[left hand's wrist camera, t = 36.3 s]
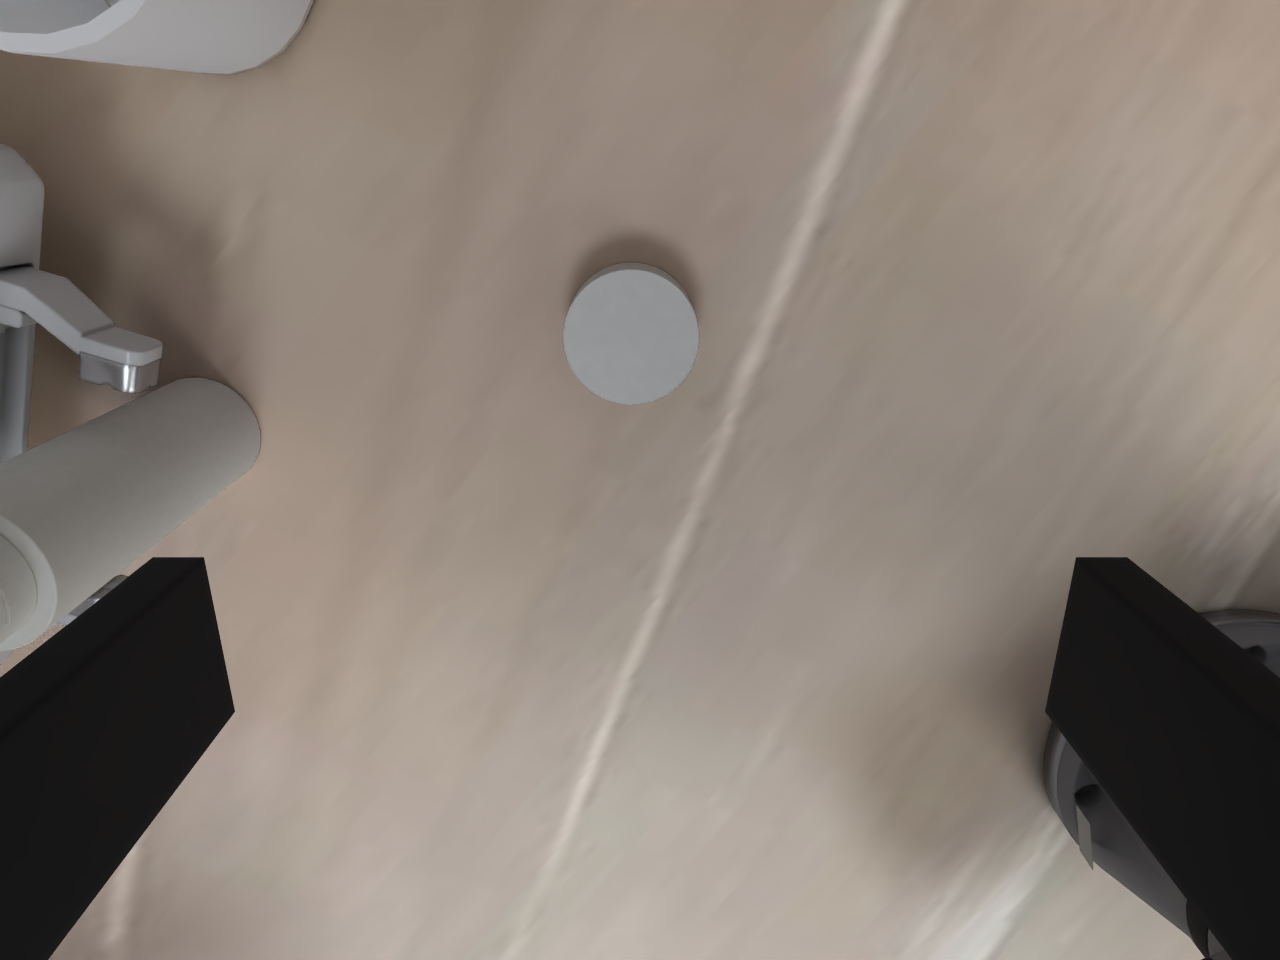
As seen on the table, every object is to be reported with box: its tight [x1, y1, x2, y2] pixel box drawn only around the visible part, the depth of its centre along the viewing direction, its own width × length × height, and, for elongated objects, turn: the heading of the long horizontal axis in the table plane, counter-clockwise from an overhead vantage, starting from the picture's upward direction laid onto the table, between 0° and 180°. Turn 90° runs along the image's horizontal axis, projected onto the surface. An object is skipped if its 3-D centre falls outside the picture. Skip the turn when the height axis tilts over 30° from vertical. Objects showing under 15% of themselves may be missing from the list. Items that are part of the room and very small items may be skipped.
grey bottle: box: [0, 378, 261, 651], centre depth 28 cm, size 5×5×16 cm
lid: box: [563, 262, 699, 405], centre depth 33 cm, size 5×5×2 cm
